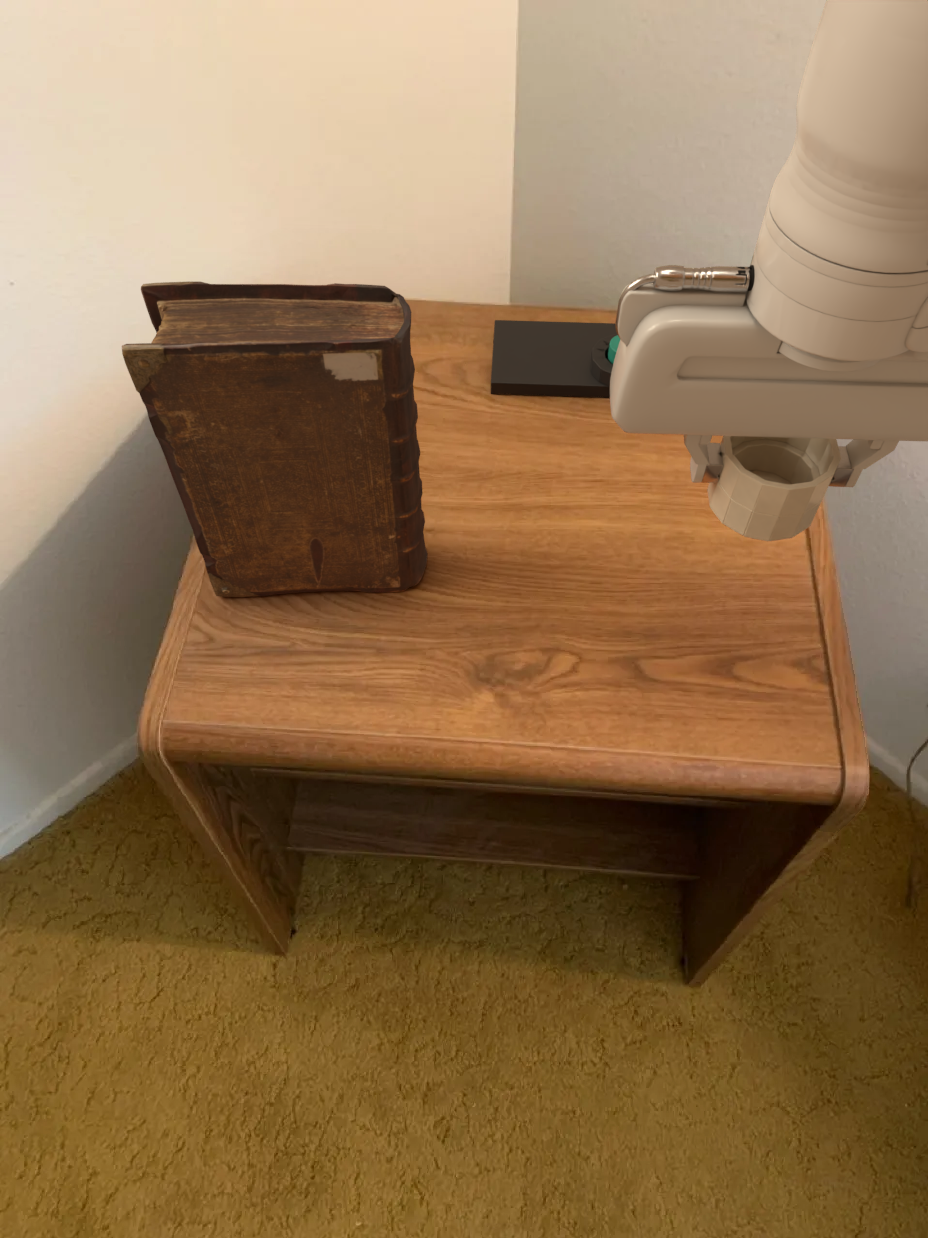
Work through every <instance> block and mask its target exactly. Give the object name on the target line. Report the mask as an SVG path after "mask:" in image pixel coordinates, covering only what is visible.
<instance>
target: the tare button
mask: <svg viewBox="0 0 928 1238" xmlns="http://www.w3.org/2000/svg"><path fill="white" fill-rule="evenodd" d="M619 342H620V338H619V336H618V335H617V336H615V337H613V338H612V339H611V341H610V344H609V351H608V359H609V361H610V362H611V363H612V364H613V363H614V359H615V356H616V352H617V349H618V345H619Z"/></svg>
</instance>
